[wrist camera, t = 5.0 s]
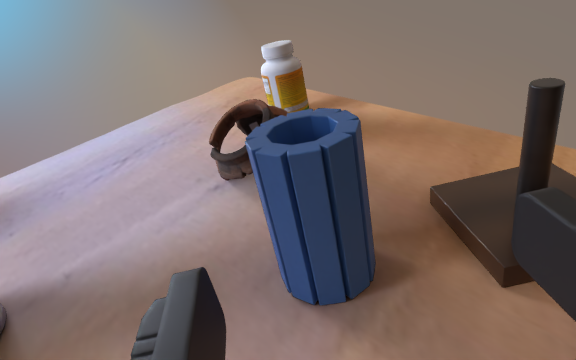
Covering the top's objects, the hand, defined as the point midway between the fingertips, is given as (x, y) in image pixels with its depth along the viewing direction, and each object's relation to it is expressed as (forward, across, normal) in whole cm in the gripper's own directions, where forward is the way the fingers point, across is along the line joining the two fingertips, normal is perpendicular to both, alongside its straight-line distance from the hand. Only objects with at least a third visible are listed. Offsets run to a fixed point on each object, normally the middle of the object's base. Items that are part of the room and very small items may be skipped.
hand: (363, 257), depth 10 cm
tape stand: (+11, -13, +11) cm, 20 cm away
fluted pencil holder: (+11, 0, +10) cm, 16 cm away
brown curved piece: (+29, +3, +11) cm, 31 cm away
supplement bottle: (+43, -1, +10) cm, 44 cm away
